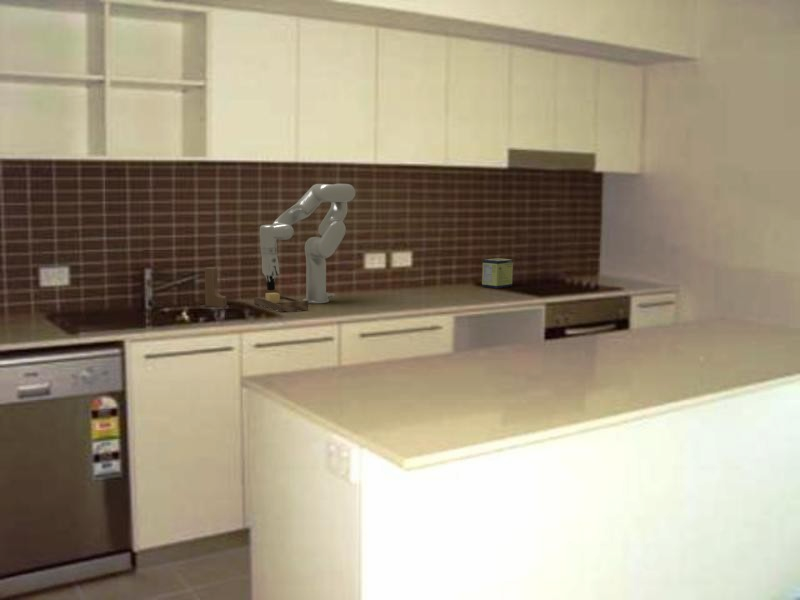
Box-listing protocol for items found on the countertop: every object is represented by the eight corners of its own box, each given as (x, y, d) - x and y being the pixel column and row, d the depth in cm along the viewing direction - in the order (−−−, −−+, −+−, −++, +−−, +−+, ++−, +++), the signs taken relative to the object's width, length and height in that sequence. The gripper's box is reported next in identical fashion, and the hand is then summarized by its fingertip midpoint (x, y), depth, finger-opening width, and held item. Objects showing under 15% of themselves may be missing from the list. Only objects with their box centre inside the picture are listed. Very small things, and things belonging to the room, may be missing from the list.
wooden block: (226, 306, 411) (226, 267, 409) (223, 307, 407) (223, 268, 404) (208, 305, 412) (208, 267, 410) (205, 306, 408) (204, 268, 406)
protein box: (512, 286, 501) (513, 259, 499) (496, 288, 490) (497, 260, 487) (497, 284, 508) (498, 257, 506) (481, 286, 497) (482, 259, 494)
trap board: (280, 301, 427) (280, 292, 426) (308, 310, 402) (308, 300, 402) (254, 303, 420) (254, 294, 419) (280, 312, 395) (280, 302, 394)
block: (275, 300, 414) (275, 292, 413) (279, 302, 409) (279, 293, 409) (265, 301, 411) (265, 293, 410) (269, 302, 407) (269, 294, 406)
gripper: (283, 251, 408) (285, 290, 411) (269, 249, 420) (271, 287, 423) (268, 253, 404) (270, 292, 407) (255, 250, 416) (257, 288, 419)
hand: (271, 289), depth 415 cm, fingers closed
